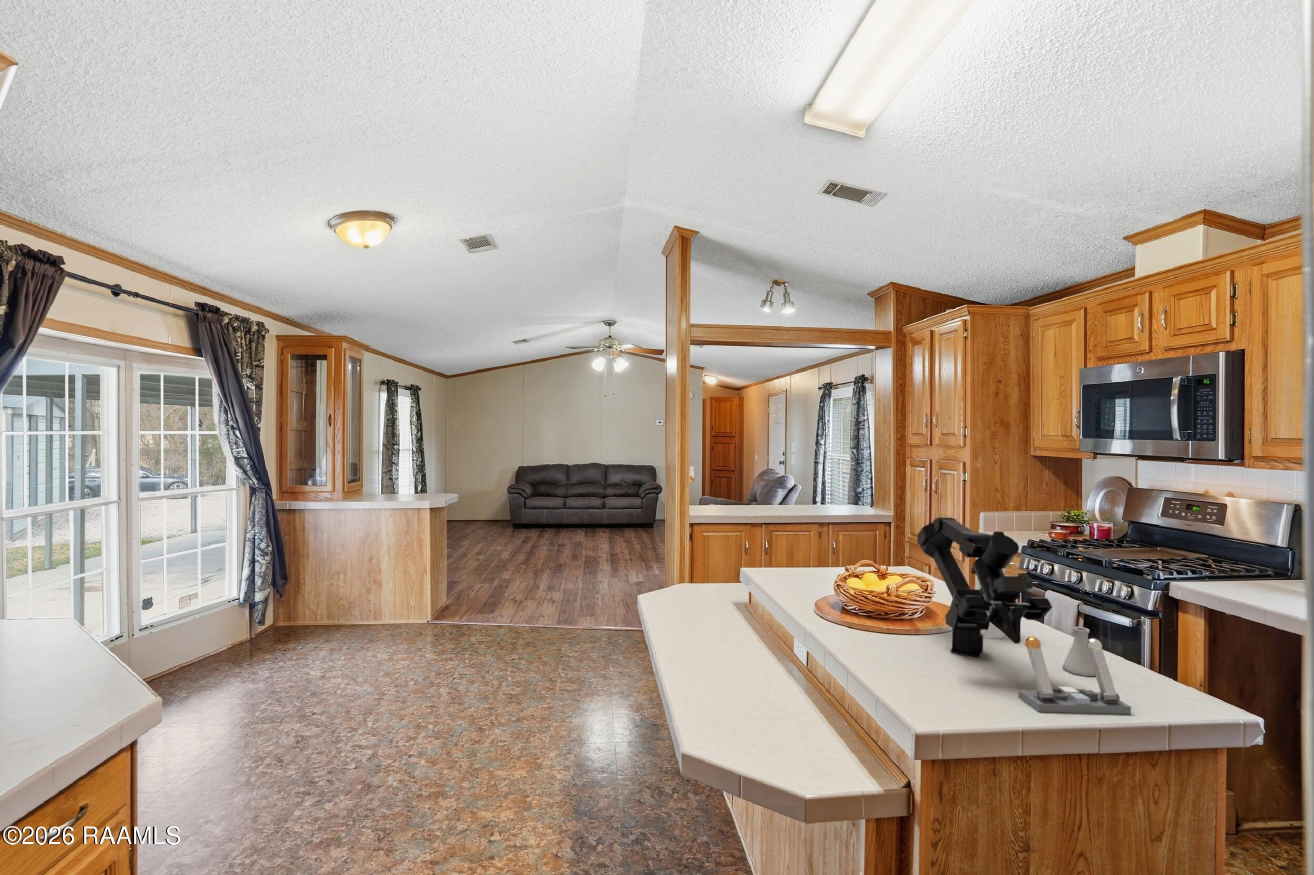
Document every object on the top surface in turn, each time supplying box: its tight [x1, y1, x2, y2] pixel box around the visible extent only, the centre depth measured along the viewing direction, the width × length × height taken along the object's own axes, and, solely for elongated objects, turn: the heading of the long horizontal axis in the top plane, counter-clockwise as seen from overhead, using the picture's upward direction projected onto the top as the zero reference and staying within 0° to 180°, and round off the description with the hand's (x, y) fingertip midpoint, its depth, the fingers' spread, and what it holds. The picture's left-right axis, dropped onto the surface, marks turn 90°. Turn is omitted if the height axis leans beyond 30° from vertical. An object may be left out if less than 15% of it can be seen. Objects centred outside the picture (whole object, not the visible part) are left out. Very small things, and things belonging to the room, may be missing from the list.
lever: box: [1086, 637, 1121, 702], centre depth 130 cm, size 3×3×12 cm
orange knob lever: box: [1024, 636, 1056, 700], centre depth 130 cm, size 3×3×12 cm
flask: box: [1062, 626, 1096, 677], centre depth 148 cm, size 7×7×10 cm
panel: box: [1018, 685, 1132, 715], centre depth 129 cm, size 7×18×3 cm, turn 90°
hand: (1017, 642), depth 138 cm, fingers closed
